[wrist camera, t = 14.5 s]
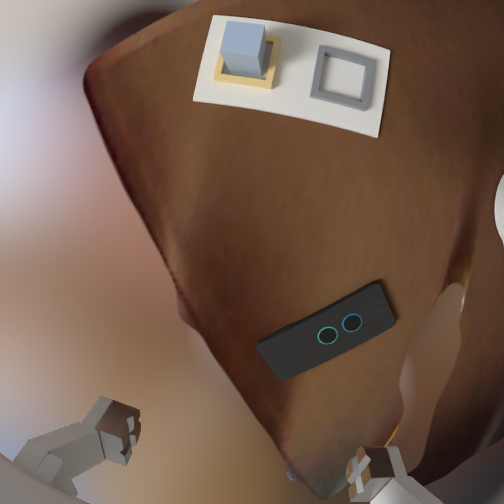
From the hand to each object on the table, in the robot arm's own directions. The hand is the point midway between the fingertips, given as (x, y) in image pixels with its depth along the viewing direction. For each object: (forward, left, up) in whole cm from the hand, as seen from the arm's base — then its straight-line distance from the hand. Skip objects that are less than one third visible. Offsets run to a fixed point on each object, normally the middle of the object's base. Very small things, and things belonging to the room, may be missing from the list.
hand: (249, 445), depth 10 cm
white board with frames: (+1, -22, -33) cm, 40 cm away
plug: (+7, -22, -32) cm, 40 cm away
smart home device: (-11, +13, -34) cm, 38 cm away
